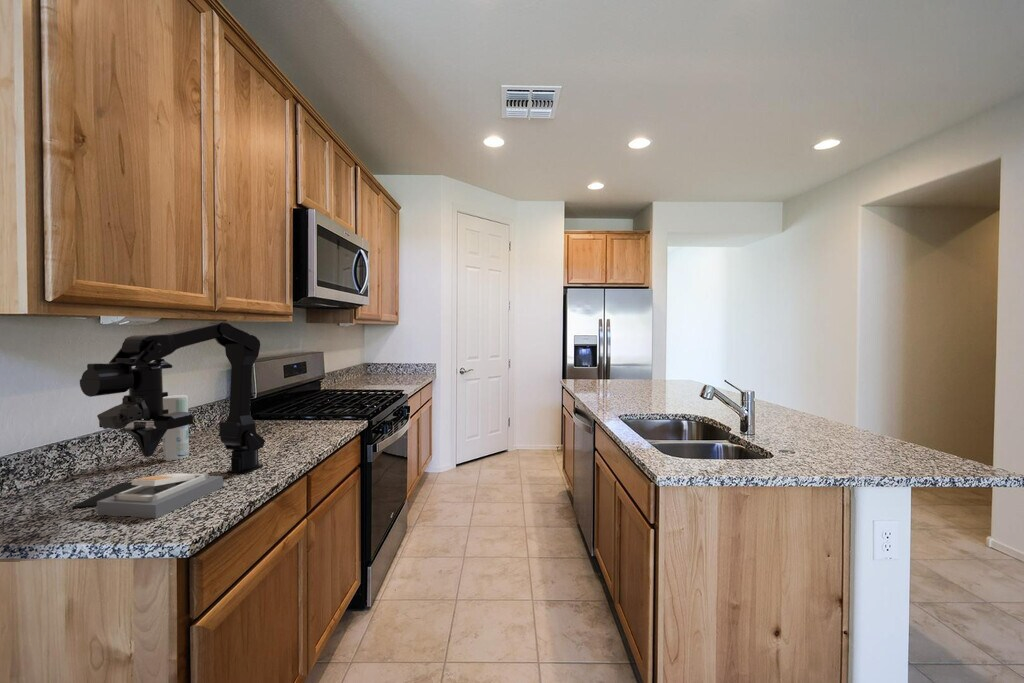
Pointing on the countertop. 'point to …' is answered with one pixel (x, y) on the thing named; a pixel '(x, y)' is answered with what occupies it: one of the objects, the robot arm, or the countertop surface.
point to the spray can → (176, 430)
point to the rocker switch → (162, 479)
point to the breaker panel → (158, 497)
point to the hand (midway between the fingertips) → (148, 456)
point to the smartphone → (105, 495)
